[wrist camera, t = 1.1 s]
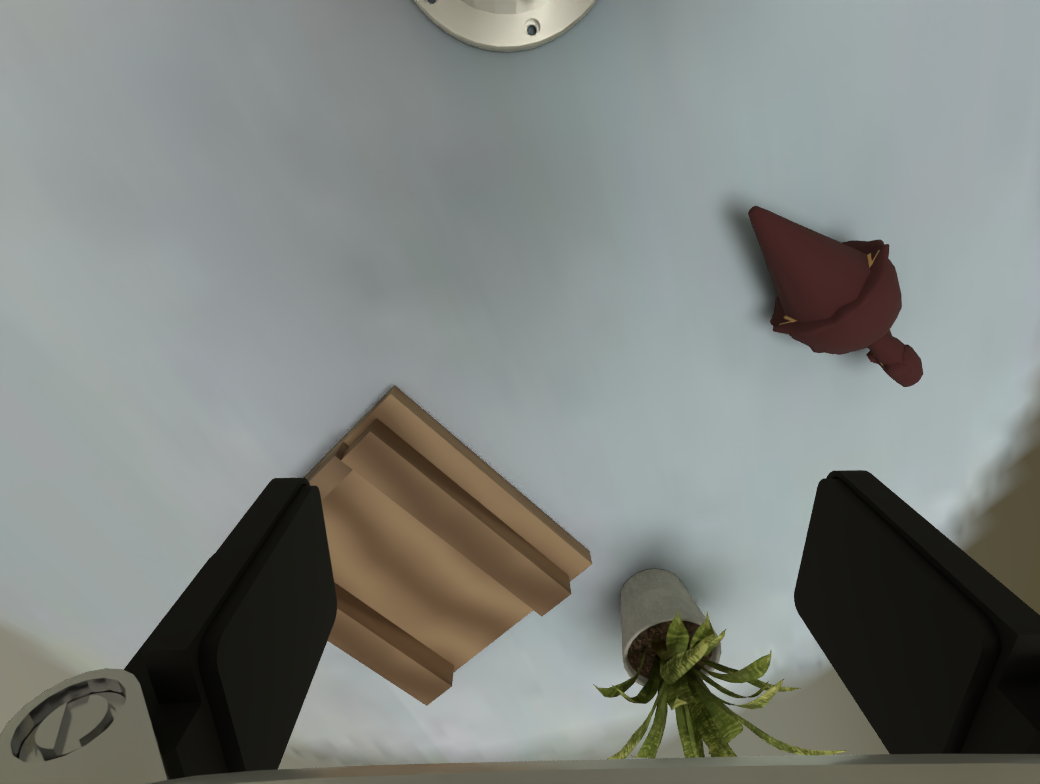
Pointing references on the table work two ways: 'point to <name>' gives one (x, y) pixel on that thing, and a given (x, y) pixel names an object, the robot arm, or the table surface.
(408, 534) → the cradle
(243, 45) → the table surface
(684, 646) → the house plant
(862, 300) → the icecream
